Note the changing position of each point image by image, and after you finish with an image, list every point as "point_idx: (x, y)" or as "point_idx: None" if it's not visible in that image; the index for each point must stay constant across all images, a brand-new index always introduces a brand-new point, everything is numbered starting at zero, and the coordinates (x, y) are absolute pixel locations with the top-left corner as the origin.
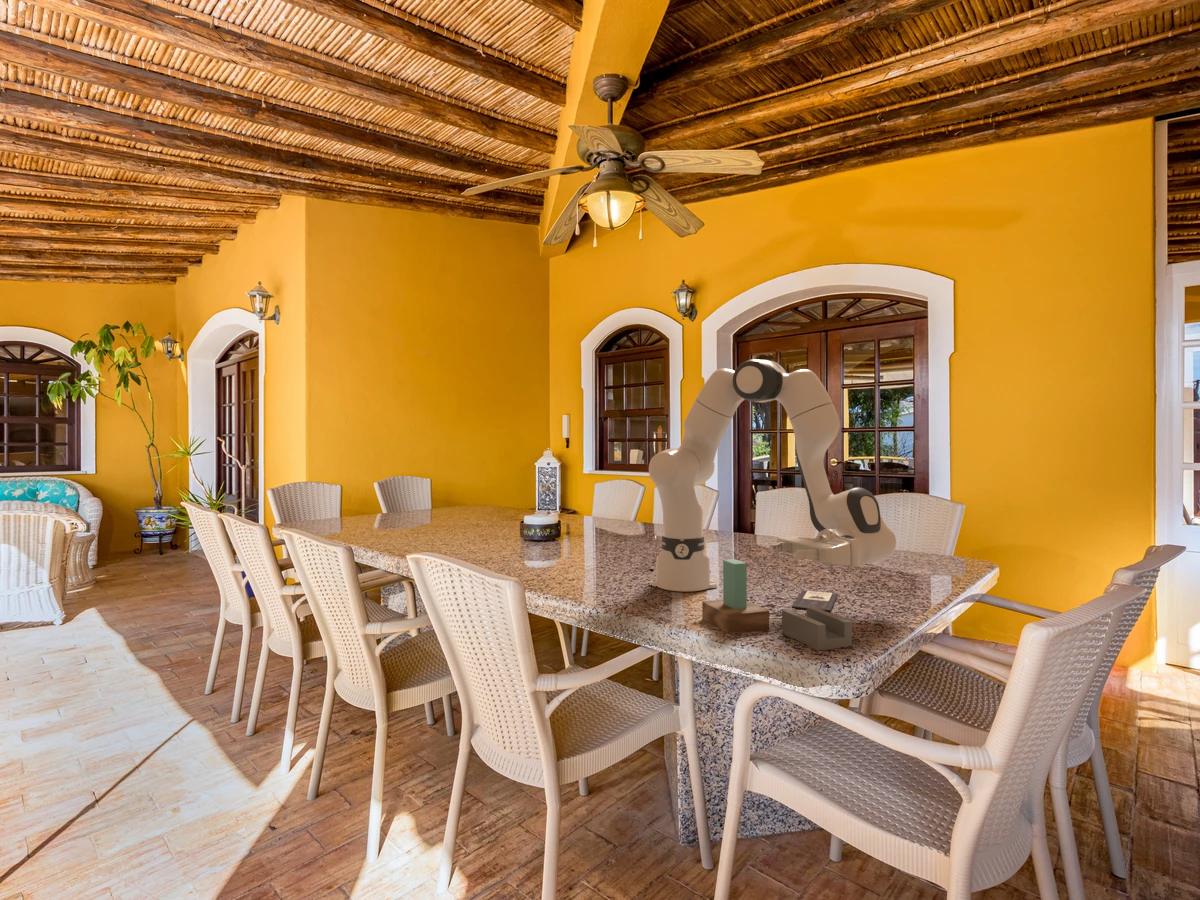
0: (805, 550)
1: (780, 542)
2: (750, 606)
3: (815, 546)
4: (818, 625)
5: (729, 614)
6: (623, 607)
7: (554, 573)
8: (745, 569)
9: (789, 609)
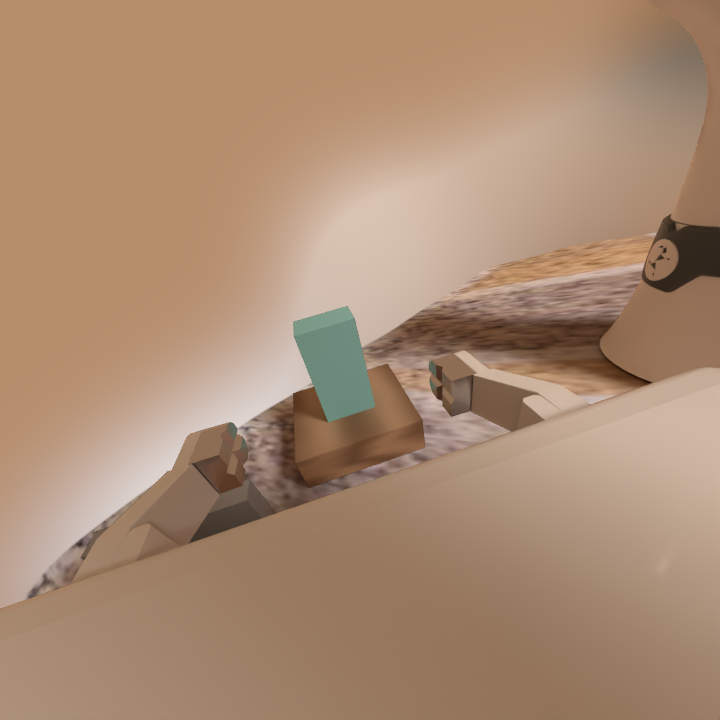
0: (164, 480)
1: (557, 390)
2: (340, 430)
3: (86, 580)
4: (95, 533)
5: (295, 394)
6: (447, 317)
7: (623, 248)
8: (299, 349)
9: (242, 500)
